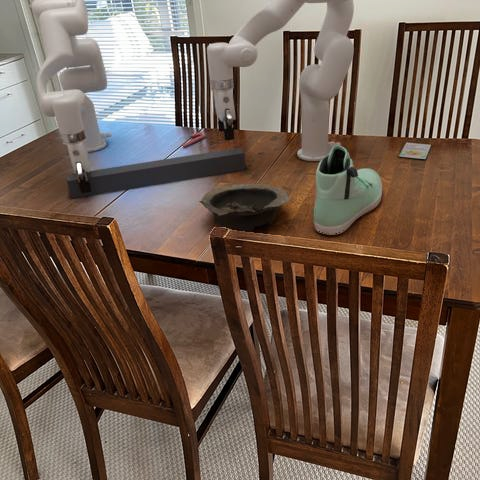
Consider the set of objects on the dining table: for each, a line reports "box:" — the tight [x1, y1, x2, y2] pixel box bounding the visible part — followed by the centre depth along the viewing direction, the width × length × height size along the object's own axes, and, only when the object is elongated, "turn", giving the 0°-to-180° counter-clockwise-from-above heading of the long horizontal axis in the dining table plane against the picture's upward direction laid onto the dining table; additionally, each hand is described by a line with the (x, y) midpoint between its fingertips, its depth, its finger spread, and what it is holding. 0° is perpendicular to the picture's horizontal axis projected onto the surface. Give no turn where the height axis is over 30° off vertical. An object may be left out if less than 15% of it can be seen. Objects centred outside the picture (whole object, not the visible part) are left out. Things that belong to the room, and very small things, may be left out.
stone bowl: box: [198, 183, 290, 233], centre depth 135 cm, size 25×25×9 cm
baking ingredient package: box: [398, 142, 432, 160], centre depth 172 cm, size 9×1×15 cm
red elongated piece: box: [182, 132, 206, 148], centre depth 197 cm, size 6×15×2 cm, turn 145°
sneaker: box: [313, 145, 383, 236], centre depth 133 cm, size 14×35×20 cm, turn 152°
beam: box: [66, 147, 247, 199], centre depth 164 cm, size 60×6×6 cm, turn 104°
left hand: (86, 186), depth 160 cm, fingers open, 7 cm apart
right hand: (226, 135), depth 164 cm, fingers open, 9 cm apart
